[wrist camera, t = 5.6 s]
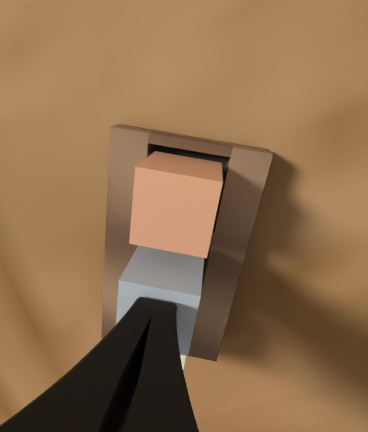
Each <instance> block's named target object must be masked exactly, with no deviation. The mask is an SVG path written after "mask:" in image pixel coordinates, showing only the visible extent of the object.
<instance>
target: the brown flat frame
mask: <svg viewBox="0 0 368 432" xmlns="http://www.w3.org/2000/svg"><path fill="white" fill-rule="evenodd" d="M155 151H157V152H163V153H169V154H174V155H180V156H186V157H192V158H198V159H203V160H209V161H215V162H221V163H222V175H223V184H222V189H221V193H220V198H219V203H218V208H217V212H216V217H215V222H214V227H213V231H212V236H211V241H210V245H209V250H208V255H207V258H204V266H203V277H202V288H201V298H200V302H199V307H198V312H197V316H196V321H195V326H194V330H193V335H192V339H191V344H190V349H189V353H188V356H193V357H197V358H202V359H207V360H212V361H217V357H218V353H219V350H220V346H221V342H222V339H223V335H224V331H225V328H226V324H227V321H228V317H229V313H230V310H231V306H232V302H233V299H234V295H235V292H236V288H237V284H238V281H239V277H240V273H241V270H242V266H243V262H244V259H245V255H246V252H247V248H248V244H249V241H250V237H251V233H252V230H253V226H254V223H255V219H256V215H257V212H258V208H259V204H260V201H261V197H262V193H263V190H264V186H265V183H266V179H267V175H268V172H269V168H270V164H271V161H272V157H273V153H272V152H270V151H269V150H268V149H263V148H257V147H251V146H245V145H239V144H233V143H227V142H222V141H216V140H210V139H204V138H198V137H192V136H186V135H180V134H174V133H168V132H162V131H156V130H150V129H145V128H139V127H133V126H127V125H121V124H119V125H115V126H110V143H109V167H108V192H107V217H106V241H105V266H104V291H103V315H102V338H104V337H105V336H106V335H107V334H108V333H109V332H110V330H111V329H112V328H113V327H114V326H115V325H116V315H117V300H118V285H119V279H120V277H121V275H122V274H123V272H124V270H125V268H126V267H127V265H128V263H129V261H130V259H131V258H132V256H133V254H134V252H135V250H136V249H137V247H138V245H134V244H129V239H130V226H131V213H132V201H133V188H134V176H135V166H137V165H138V164H139V163H141V162H142V161H143V160H144V159H146V158H147V157H148V156H150V155H151V154H152V153H153V152H155Z"/></svg>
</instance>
